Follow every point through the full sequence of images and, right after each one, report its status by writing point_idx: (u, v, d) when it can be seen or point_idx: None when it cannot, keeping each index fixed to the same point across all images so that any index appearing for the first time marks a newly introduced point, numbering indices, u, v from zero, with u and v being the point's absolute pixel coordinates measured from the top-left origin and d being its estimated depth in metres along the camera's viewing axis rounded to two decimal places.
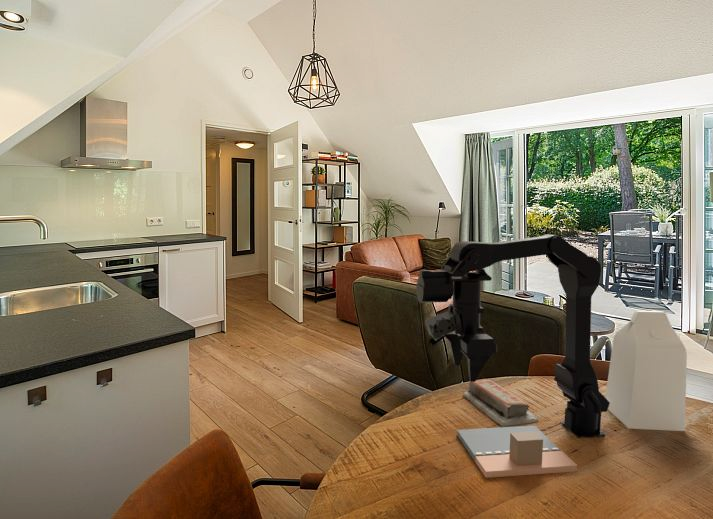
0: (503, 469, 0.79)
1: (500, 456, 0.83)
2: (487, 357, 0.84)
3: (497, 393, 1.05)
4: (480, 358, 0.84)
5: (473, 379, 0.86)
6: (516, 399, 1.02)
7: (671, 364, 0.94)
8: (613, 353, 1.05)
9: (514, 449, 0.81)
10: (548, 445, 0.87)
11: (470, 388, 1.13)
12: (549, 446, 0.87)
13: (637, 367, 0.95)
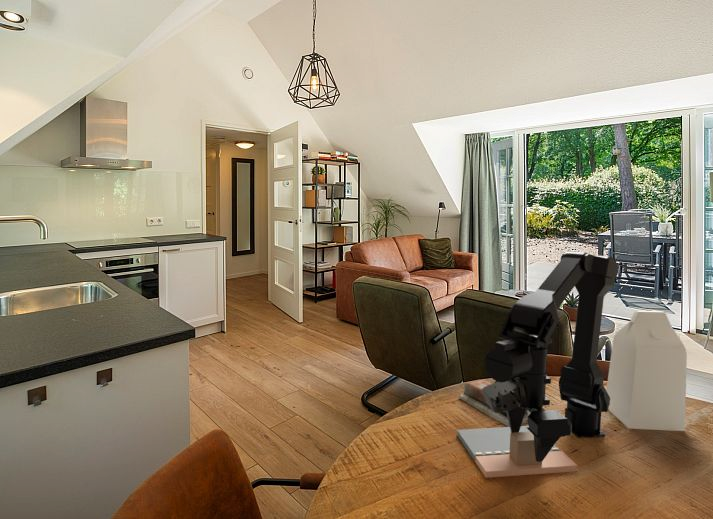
0: (503, 469, 0.79)
1: (500, 456, 0.83)
2: (557, 436, 0.74)
3: None
4: (549, 437, 0.75)
5: (540, 459, 0.76)
6: None
7: (671, 364, 0.94)
8: (613, 353, 1.05)
9: (514, 449, 0.81)
10: None
11: (466, 390, 1.12)
12: None
13: (637, 367, 0.95)
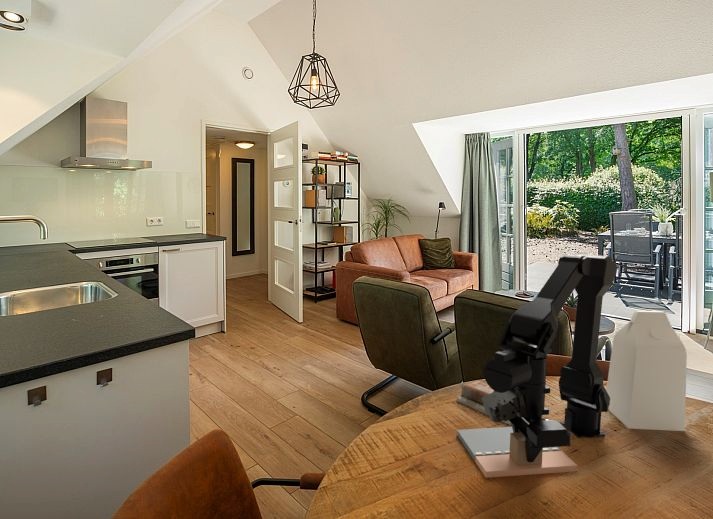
0: (503, 469, 0.79)
1: (500, 456, 0.83)
2: None
3: None
4: None
5: (531, 460, 0.79)
6: None
7: (671, 364, 0.94)
8: (613, 353, 1.05)
9: (514, 449, 0.81)
10: None
11: (463, 392, 1.10)
12: None
13: (637, 367, 0.95)
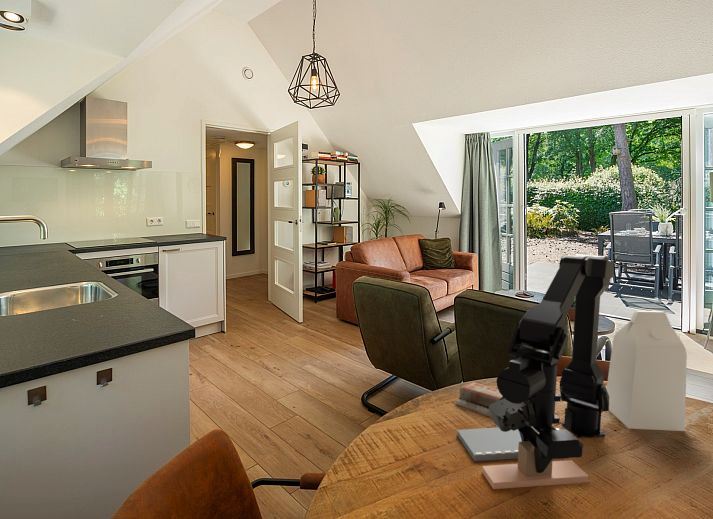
0: (511, 480, 0.75)
1: (508, 466, 0.80)
2: None
3: (498, 394, 1.04)
4: None
5: (540, 470, 0.76)
6: None
7: (671, 364, 0.94)
8: (613, 353, 1.05)
9: (523, 459, 0.77)
10: None
11: (462, 395, 1.09)
12: None
13: (637, 367, 0.95)
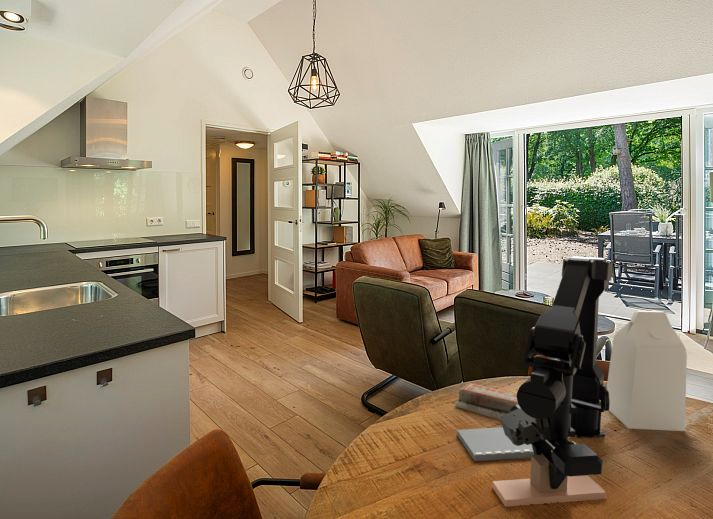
0: (524, 497, 0.71)
1: (520, 481, 0.75)
2: None
3: (499, 395, 1.04)
4: None
5: (555, 486, 0.72)
6: None
7: (671, 364, 0.94)
8: (613, 353, 1.05)
9: (536, 474, 0.73)
10: None
11: (461, 397, 1.08)
12: None
13: (637, 367, 0.95)
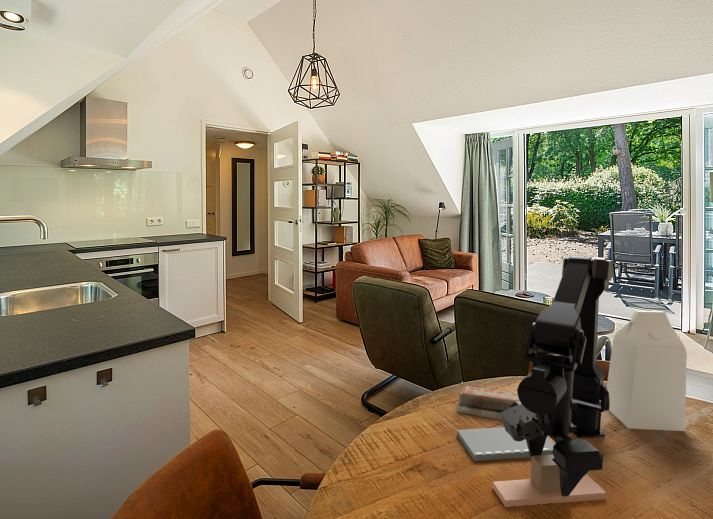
0: (525, 497, 0.71)
1: (520, 481, 0.75)
2: None
3: (501, 395, 1.04)
4: None
5: (566, 494, 0.68)
6: (517, 395, 1.05)
7: (671, 364, 0.94)
8: (613, 353, 1.05)
9: (536, 474, 0.73)
10: (548, 445, 0.87)
11: (462, 401, 1.05)
12: (549, 446, 0.87)
13: (637, 367, 0.95)
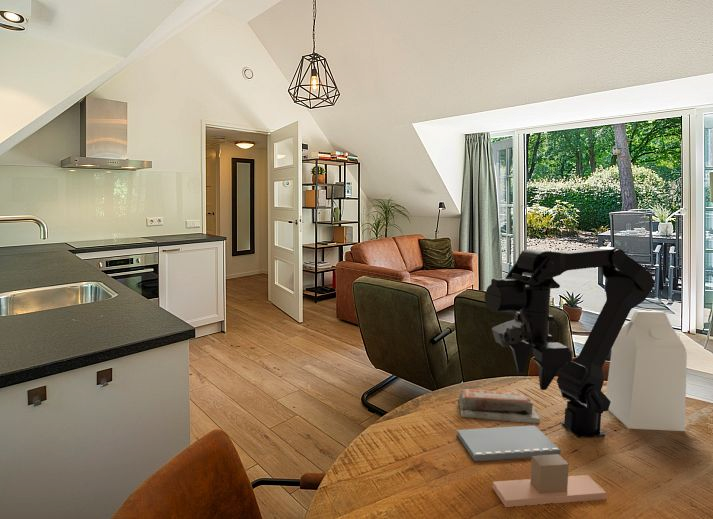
0: (525, 497, 0.71)
1: (520, 481, 0.75)
2: (559, 365, 0.84)
3: (502, 396, 1.03)
4: (552, 366, 0.84)
5: (544, 387, 0.85)
6: (515, 394, 1.05)
7: (671, 364, 0.94)
8: (613, 353, 1.05)
9: (536, 474, 0.73)
10: (548, 445, 0.87)
11: (465, 405, 1.03)
12: (549, 446, 0.87)
13: (637, 367, 0.95)
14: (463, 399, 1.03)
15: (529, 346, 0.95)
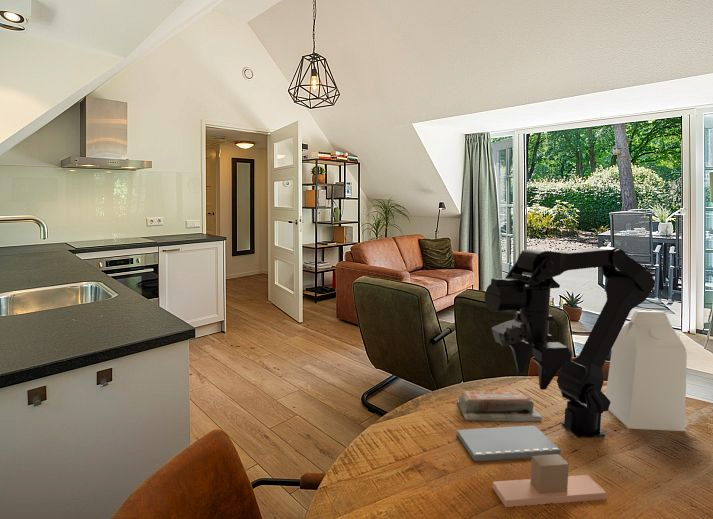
0: (525, 497, 0.71)
1: (520, 481, 0.75)
2: (559, 365, 0.84)
3: (503, 396, 1.03)
4: (552, 366, 0.84)
5: (543, 387, 0.86)
6: (514, 393, 1.06)
7: (671, 364, 0.94)
8: (613, 353, 1.05)
9: (536, 474, 0.73)
10: (548, 445, 0.87)
11: (468, 408, 1.01)
12: (549, 446, 0.87)
13: (637, 367, 0.95)
14: (466, 402, 1.01)
15: (529, 346, 0.95)
